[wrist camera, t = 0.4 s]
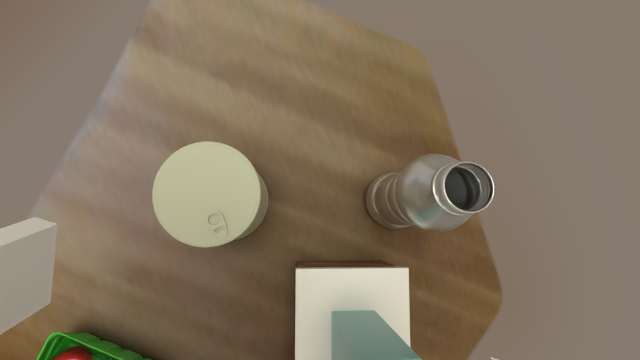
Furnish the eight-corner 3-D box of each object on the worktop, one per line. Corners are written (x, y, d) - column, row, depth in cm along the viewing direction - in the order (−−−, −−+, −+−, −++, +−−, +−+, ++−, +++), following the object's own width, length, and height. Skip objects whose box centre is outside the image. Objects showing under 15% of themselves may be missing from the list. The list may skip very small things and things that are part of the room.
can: (204, 253, 42) (171, 266, 30) (176, 178, 43) (132, 162, 31) (280, 222, 43) (277, 223, 31) (251, 149, 44) (237, 123, 32)
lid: (404, 398, 36) (479, 514, 22) (294, 402, 35) (298, 526, 21) (401, 265, 37) (470, 293, 23) (295, 265, 36) (300, 295, 22)
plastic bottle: (404, 237, 44) (498, 252, 24) (352, 214, 44) (406, 211, 24) (423, 188, 45) (530, 164, 25) (373, 165, 45) (441, 123, 25)
